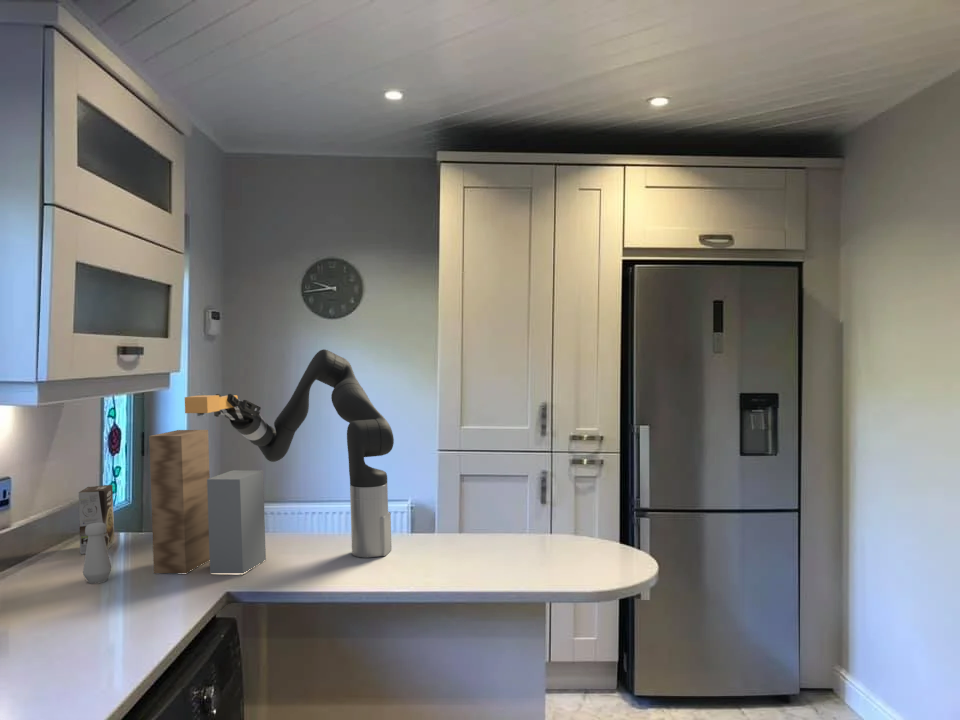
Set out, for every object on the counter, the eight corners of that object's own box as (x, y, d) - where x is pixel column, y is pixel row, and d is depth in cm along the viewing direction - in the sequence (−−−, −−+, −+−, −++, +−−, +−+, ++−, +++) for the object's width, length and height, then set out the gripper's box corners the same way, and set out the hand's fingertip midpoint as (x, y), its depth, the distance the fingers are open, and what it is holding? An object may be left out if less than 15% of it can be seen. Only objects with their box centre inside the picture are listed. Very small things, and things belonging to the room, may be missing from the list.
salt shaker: (84, 579, 169) (82, 522, 169) (112, 575, 172) (110, 519, 172) (82, 586, 164) (80, 527, 164) (111, 582, 167) (109, 524, 166)
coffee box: (106, 552, 192) (104, 490, 191) (79, 554, 190) (77, 492, 190) (115, 543, 201) (113, 484, 200) (89, 545, 199) (87, 485, 199)
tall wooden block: (212, 559, 183) (208, 429, 182) (185, 574, 171) (181, 435, 171) (182, 558, 184) (177, 430, 184) (153, 573, 172) (149, 436, 172)
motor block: (265, 560, 181) (263, 470, 181) (242, 575, 169) (239, 479, 169) (235, 559, 182) (232, 470, 182) (210, 574, 170) (207, 479, 170)
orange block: (243, 406, 203) (242, 391, 203) (207, 413, 184) (207, 396, 184) (222, 406, 204) (222, 391, 204) (185, 413, 185) (184, 397, 185)
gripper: (229, 411, 216) (201, 384, 201) (274, 410, 214) (250, 384, 199) (223, 435, 212) (194, 410, 197) (269, 435, 210) (244, 409, 195)
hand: (222, 397), depth 198 cm, fingers closed on orange block, 3 cm apart
